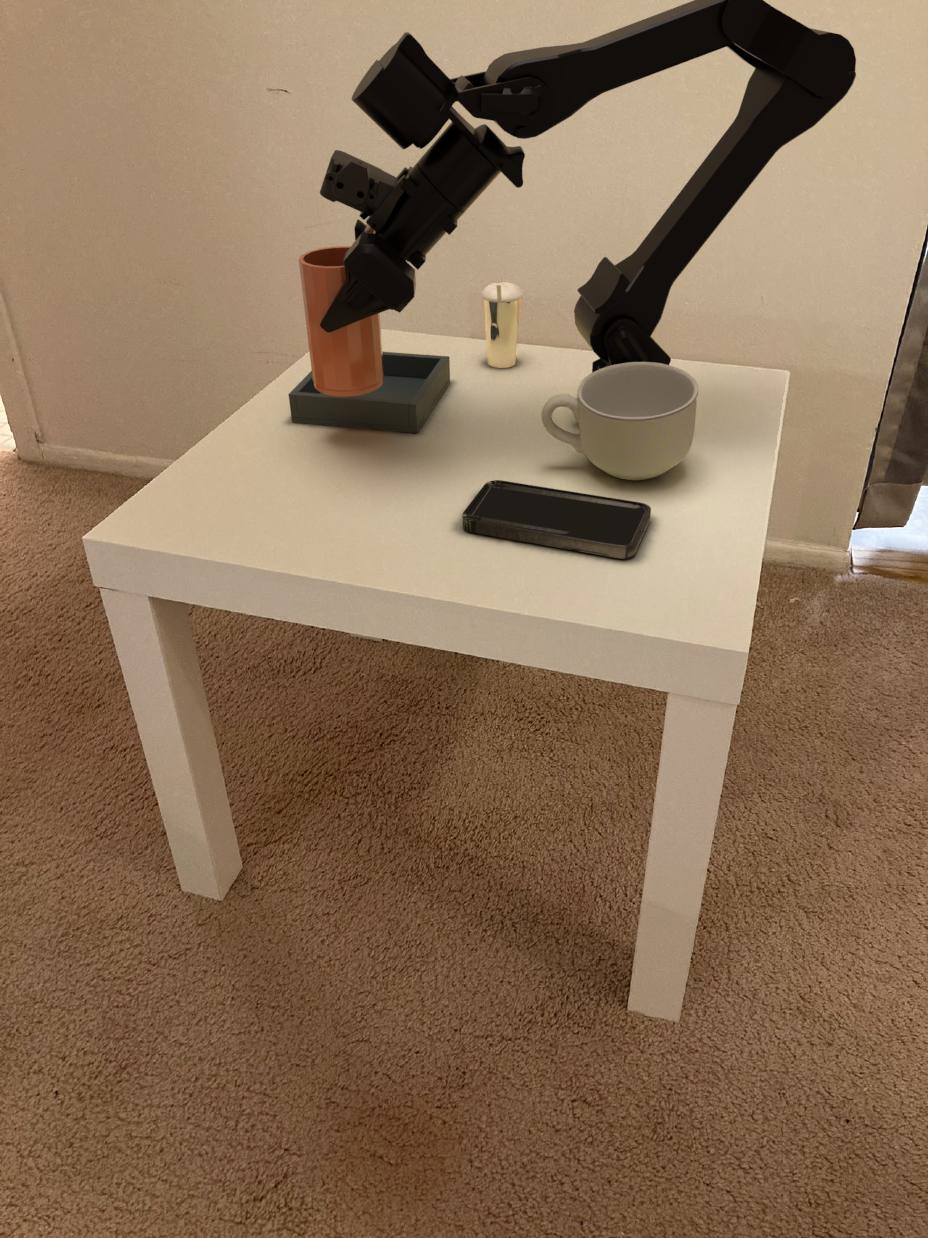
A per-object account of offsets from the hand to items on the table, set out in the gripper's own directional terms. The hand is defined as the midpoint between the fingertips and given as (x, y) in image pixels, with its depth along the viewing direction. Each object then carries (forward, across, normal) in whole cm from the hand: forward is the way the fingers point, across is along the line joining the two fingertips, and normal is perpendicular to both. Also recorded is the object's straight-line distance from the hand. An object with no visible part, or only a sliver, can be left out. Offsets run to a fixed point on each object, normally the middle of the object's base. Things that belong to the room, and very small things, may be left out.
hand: (328, 315), depth 92 cm
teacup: (-10, +7, +28) cm, 31 cm away
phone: (-6, +18, +23) cm, 30 cm away
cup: (+4, 0, +6) cm, 7 cm away
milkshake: (-3, -19, +21) cm, 29 cm away
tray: (+7, -9, +11) cm, 16 cm away
